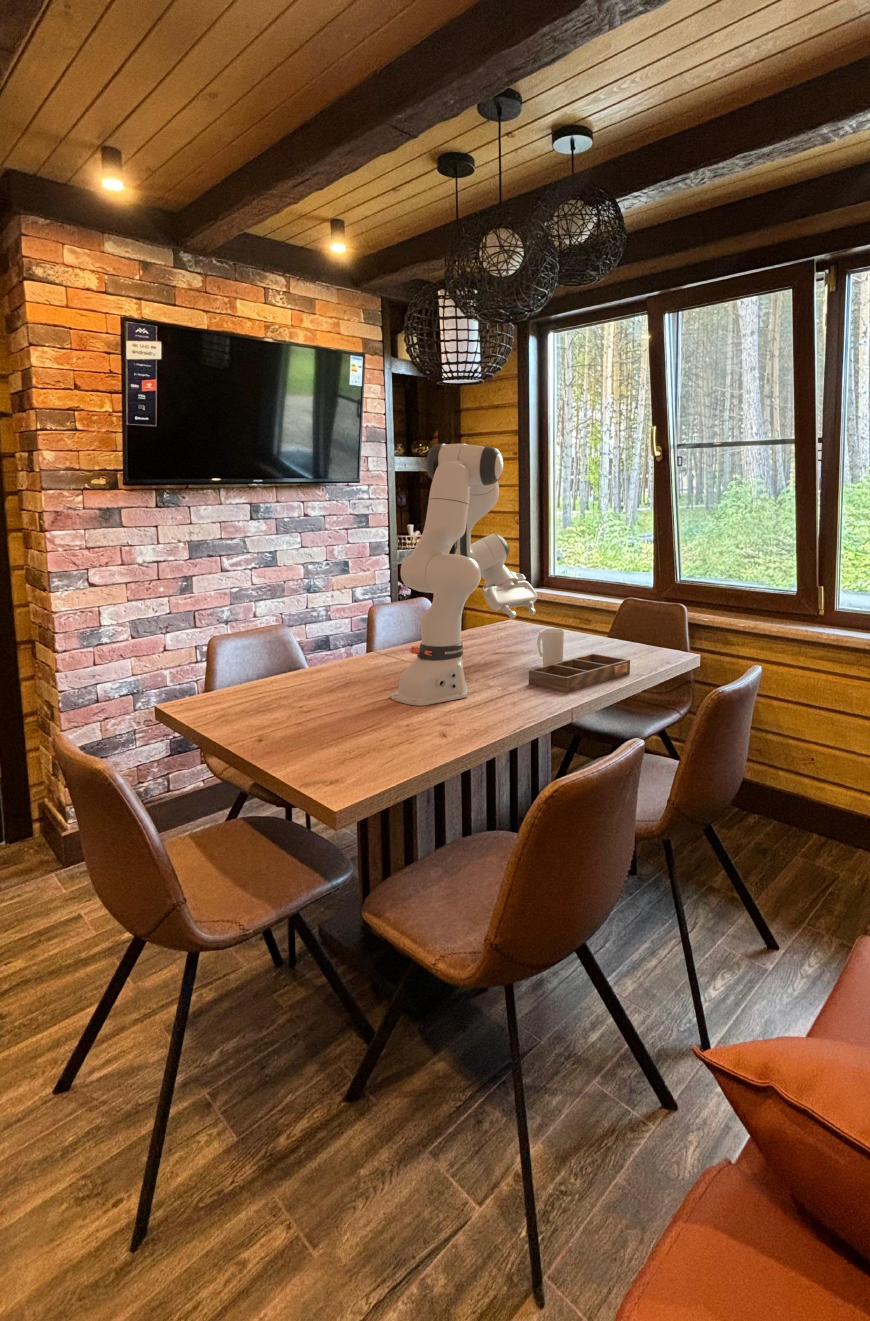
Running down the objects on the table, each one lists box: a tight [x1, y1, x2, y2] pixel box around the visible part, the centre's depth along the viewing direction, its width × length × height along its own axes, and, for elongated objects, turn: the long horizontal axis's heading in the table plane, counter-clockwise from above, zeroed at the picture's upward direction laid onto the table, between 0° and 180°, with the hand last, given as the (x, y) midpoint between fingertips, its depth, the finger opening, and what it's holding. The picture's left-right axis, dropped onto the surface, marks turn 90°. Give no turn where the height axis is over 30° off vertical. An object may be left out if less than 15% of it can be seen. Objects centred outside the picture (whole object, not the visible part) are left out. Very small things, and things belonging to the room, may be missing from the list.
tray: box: [528, 653, 631, 693], centre depth 221 cm, size 30×15×4 cm, turn 131°
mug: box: [536, 628, 565, 667], centre depth 237 cm, size 10×7×12 cm, turn 38°
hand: (524, 615), depth 242 cm, fingers open, 8 cm apart
